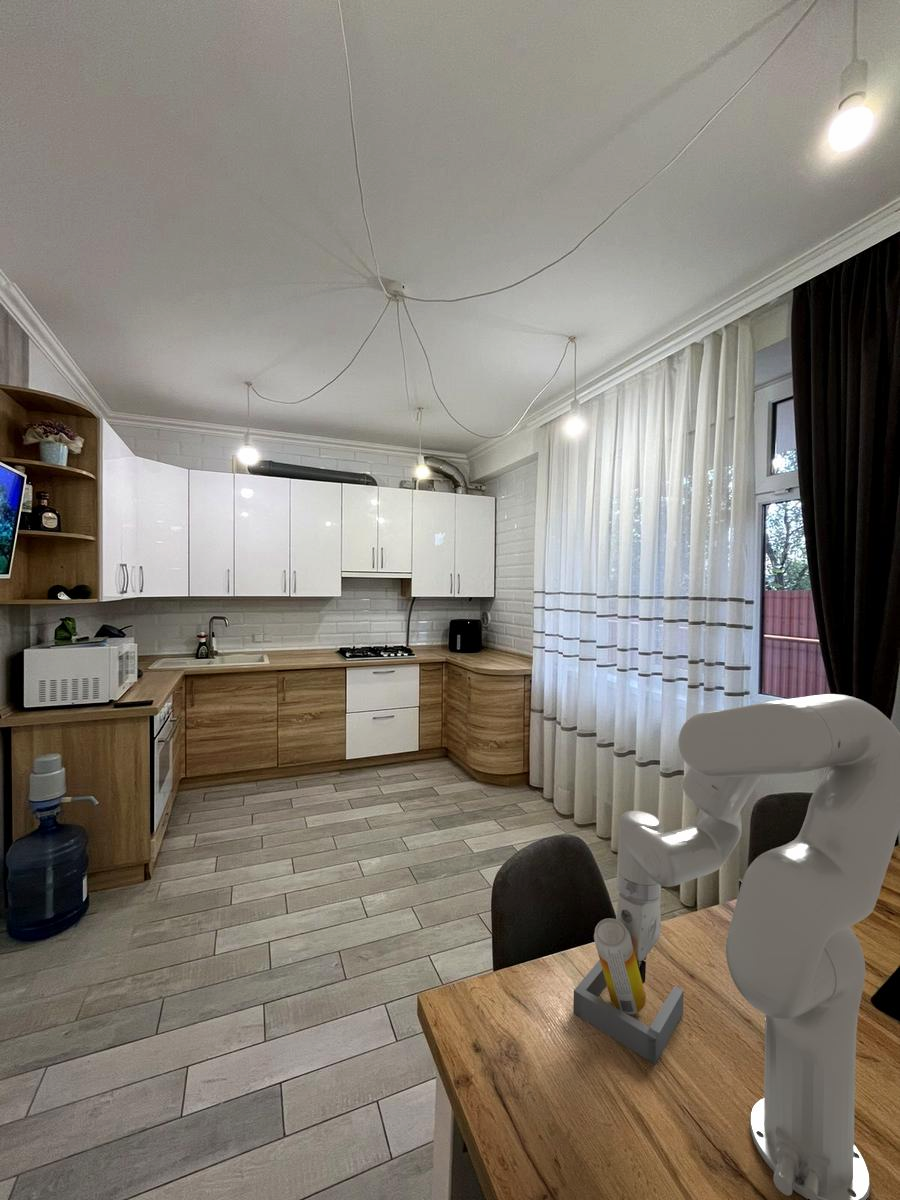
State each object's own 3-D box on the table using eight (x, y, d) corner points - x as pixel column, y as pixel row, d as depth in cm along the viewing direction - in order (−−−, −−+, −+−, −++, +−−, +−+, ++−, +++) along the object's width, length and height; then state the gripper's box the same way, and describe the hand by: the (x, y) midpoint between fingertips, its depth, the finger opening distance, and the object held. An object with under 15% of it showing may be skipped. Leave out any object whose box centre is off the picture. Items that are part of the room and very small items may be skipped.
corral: (655, 1065, 77) (655, 1039, 77) (573, 1013, 86) (573, 990, 86) (683, 1013, 87) (683, 990, 87) (606, 971, 96) (606, 951, 96)
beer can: (642, 981, 90) (625, 914, 87) (650, 1016, 84) (632, 945, 81) (608, 984, 92) (590, 918, 88) (614, 1019, 86) (595, 949, 83)
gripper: (642, 911, 83) (638, 1018, 83) (674, 874, 94) (670, 969, 94) (600, 891, 88) (596, 992, 89) (635, 858, 99) (631, 948, 99)
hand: (634, 980), depth 91 cm, fingers closed
